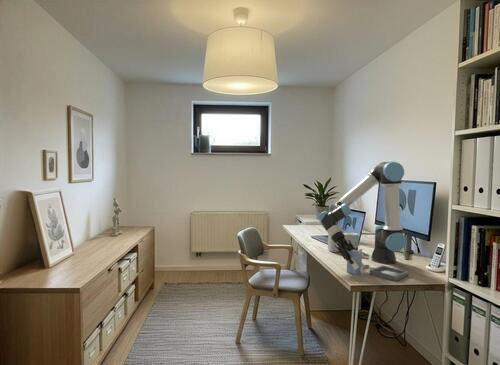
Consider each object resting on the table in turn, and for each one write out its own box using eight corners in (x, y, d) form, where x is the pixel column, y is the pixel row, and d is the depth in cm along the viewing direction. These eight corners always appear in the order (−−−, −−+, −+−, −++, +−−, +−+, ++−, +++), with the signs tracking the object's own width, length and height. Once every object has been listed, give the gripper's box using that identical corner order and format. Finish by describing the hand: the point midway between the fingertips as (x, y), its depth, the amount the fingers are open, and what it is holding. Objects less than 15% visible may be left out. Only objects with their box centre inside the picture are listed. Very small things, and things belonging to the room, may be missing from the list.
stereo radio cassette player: (355, 250, 245) (356, 223, 244) (359, 252, 237) (360, 225, 236) (327, 249, 244) (328, 222, 243) (330, 252, 236) (331, 224, 235)
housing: (382, 269, 199) (382, 265, 198) (408, 276, 187) (408, 271, 187) (369, 274, 189) (369, 270, 189) (395, 281, 177) (396, 277, 177)
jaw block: (351, 270, 195) (352, 248, 195) (360, 273, 191) (361, 250, 190) (346, 272, 192) (347, 249, 191) (355, 274, 188) (356, 252, 187)
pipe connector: (354, 261, 214) (355, 246, 214) (370, 264, 208) (371, 248, 208) (349, 265, 206) (350, 249, 205) (365, 268, 200) (366, 251, 200)
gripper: (340, 235, 208) (363, 268, 196) (323, 239, 196) (346, 274, 185) (348, 228, 204) (372, 261, 192) (331, 232, 192) (355, 267, 180)
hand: (359, 267), depth 188 cm, fingers closed on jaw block, 5 cm apart
